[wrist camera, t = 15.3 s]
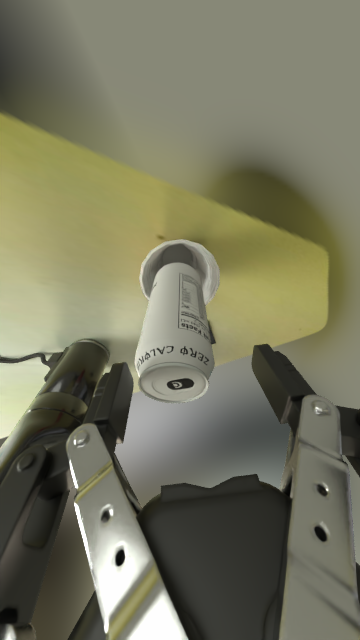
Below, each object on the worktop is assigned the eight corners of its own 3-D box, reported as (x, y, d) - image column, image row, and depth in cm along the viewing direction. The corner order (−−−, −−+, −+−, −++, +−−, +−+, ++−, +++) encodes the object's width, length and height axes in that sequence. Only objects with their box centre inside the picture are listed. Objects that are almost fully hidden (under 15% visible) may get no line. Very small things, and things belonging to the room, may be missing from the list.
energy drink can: (147, 267, 23) (111, 369, 11) (193, 252, 22) (206, 350, 10) (164, 305, 26) (151, 411, 15) (205, 294, 25) (224, 400, 14)
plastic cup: (138, 273, 35) (127, 301, 25) (161, 216, 30) (158, 221, 20) (188, 295, 38) (195, 327, 28) (215, 246, 33) (236, 263, 23)
